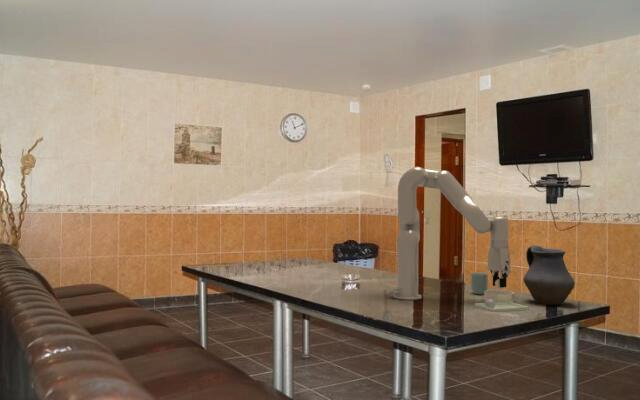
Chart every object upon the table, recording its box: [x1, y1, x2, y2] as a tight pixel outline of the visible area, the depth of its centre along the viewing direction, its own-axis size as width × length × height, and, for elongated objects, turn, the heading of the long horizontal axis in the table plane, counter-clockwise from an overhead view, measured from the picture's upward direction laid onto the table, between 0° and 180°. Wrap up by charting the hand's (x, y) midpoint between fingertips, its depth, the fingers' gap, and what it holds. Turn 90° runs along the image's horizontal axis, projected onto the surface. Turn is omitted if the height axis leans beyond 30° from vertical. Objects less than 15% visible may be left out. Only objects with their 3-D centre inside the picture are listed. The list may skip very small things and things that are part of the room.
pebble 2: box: [494, 278, 502, 289], centre depth 235 cm, size 4×4×4 cm
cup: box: [470, 271, 489, 296], centre depth 258 cm, size 8×8×10 cm
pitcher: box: [522, 244, 576, 306], centre depth 235 cm, size 21×22×25 cm
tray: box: [474, 302, 530, 313], centre depth 221 cm, size 17×12×2 cm
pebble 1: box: [484, 299, 495, 308], centre depth 219 cm, size 4×4×4 cm
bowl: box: [483, 289, 516, 303], centre depth 236 cm, size 12×12×4 cm
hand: (499, 286), depth 235 cm, fingers closed on pebble 2, 4 cm apart
